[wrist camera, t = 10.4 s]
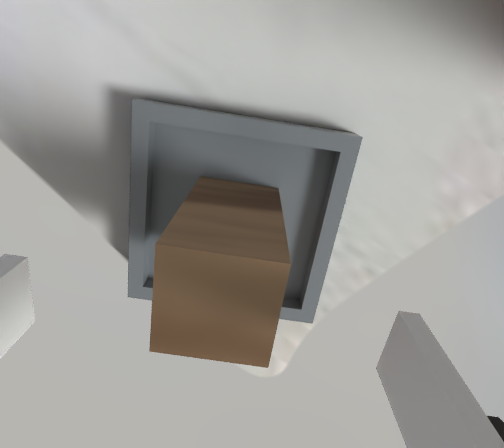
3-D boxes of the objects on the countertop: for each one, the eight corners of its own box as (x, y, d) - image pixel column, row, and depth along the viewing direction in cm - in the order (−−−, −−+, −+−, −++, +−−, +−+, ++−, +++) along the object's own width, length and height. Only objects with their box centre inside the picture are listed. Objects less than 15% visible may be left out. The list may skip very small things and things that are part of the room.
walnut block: (200, 176, 22) (155, 243, 13) (278, 188, 22) (291, 264, 13) (193, 246, 24) (149, 351, 14) (265, 257, 24) (267, 367, 15)
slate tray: (142, 98, 21) (131, 99, 19) (354, 133, 21) (362, 137, 19) (136, 283, 26) (127, 297, 24) (309, 308, 26) (312, 323, 24)
